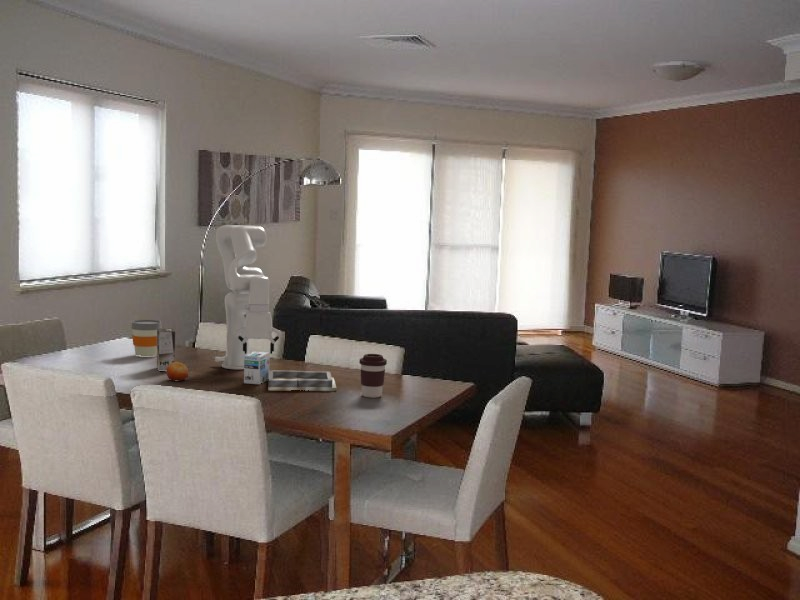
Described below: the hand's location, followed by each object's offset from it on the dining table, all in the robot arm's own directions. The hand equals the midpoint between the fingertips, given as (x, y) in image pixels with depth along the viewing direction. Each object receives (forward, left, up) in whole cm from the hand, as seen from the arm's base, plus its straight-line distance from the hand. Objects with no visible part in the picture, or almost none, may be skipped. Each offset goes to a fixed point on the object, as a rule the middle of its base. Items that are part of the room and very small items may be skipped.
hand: (258, 353), depth 309 cm
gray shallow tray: (+17, -5, -11) cm, 21 cm away
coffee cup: (+42, -21, -11) cm, 48 cm away
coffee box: (-37, +21, -11) cm, 44 cm away
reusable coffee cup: (-49, +49, -11) cm, 70 cm away
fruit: (-30, +1, -11) cm, 32 cm away
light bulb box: (-1, +1, -11) cm, 11 cm away
